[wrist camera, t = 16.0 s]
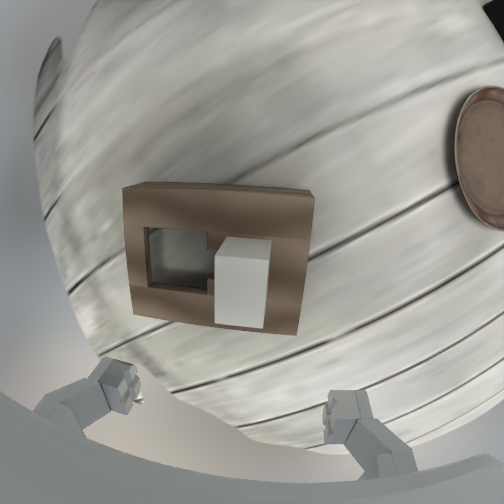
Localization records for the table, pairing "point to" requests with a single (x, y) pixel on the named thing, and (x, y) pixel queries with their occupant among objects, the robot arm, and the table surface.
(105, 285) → the table surface
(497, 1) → the battery
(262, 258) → the gray rectangular block
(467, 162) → the plant saucer
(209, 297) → the brown open frame
